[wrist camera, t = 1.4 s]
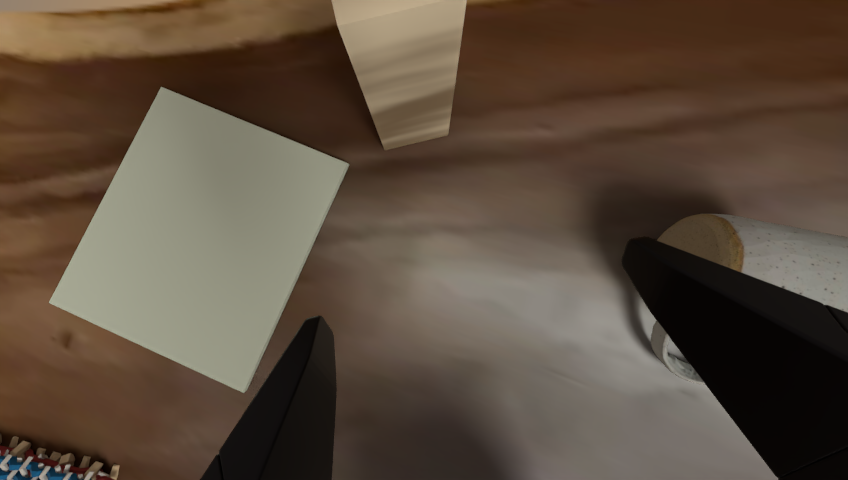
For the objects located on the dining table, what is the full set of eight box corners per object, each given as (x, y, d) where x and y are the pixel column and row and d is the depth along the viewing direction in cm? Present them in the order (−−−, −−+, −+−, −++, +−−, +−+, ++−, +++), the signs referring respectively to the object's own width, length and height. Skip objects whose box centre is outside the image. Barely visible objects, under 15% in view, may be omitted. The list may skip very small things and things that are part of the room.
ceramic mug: (644, 217, 22) (755, 193, 15) (757, 242, 22) (929, 231, 14) (617, 359, 22) (719, 412, 14) (733, 388, 21) (901, 457, 14)
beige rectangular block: (448, 135, 23) (467, -5, 11) (384, 150, 23) (337, 25, 11) (437, 93, 24) (444, -86, 12) (374, 108, 24) (318, -56, 12)
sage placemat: (246, 390, 22) (243, 392, 21) (55, 302, 23) (48, 302, 22) (349, 165, 23) (347, 163, 23) (165, 89, 24) (161, 86, 24)
